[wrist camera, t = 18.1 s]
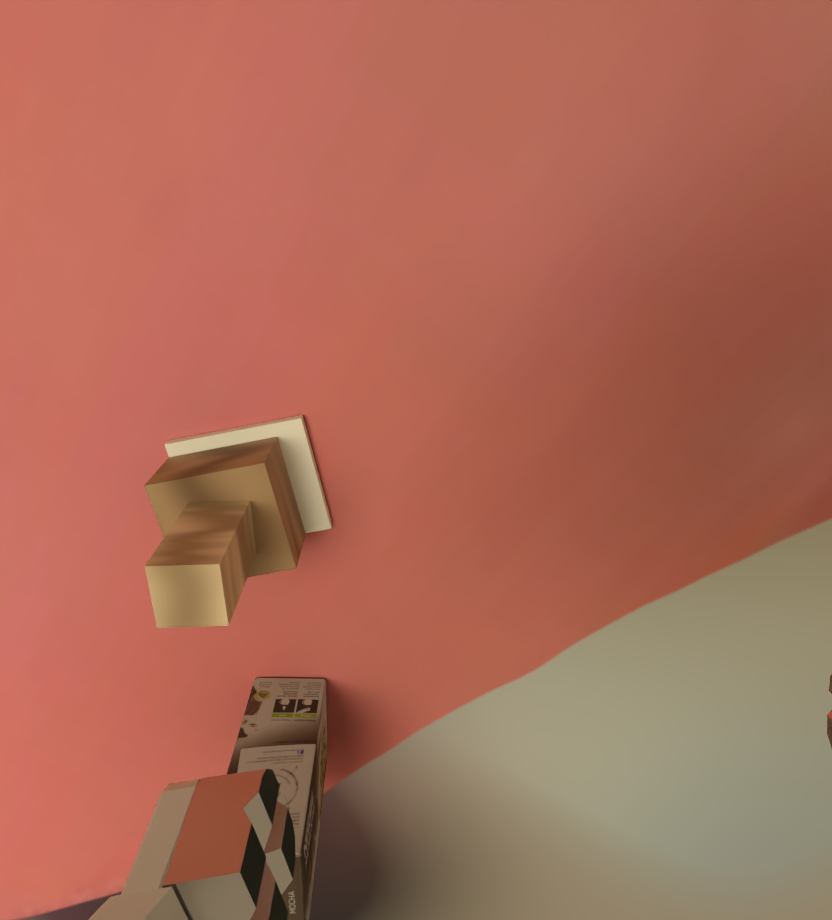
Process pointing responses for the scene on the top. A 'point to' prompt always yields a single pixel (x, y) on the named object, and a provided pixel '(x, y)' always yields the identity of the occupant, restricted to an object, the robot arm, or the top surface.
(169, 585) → the oak block
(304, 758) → the coffee box
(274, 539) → the walnut brick
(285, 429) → the baseplate
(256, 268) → the top surface
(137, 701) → the top surface
